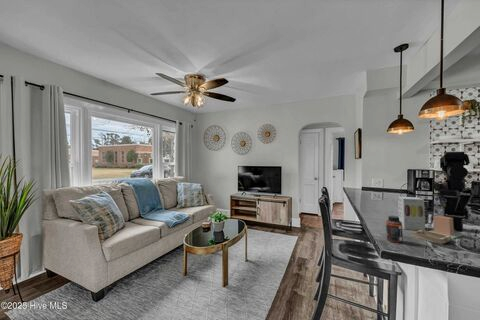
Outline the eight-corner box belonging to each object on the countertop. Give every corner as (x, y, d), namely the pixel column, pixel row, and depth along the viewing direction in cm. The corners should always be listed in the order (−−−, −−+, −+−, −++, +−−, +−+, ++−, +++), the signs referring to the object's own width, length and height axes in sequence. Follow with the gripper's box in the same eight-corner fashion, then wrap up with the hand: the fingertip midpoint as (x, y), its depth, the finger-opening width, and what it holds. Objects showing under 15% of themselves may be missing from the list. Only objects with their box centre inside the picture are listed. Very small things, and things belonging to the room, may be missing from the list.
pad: (435, 230, 108) (435, 229, 108) (462, 235, 99) (462, 234, 99) (426, 233, 104) (426, 231, 104) (453, 239, 95) (452, 237, 95)
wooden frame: (421, 233, 103) (421, 229, 103) (451, 240, 93) (450, 236, 93) (411, 236, 99) (411, 232, 99) (441, 244, 89) (441, 239, 89)
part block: (438, 230, 105) (437, 215, 105) (453, 234, 100) (452, 217, 100) (434, 232, 103) (433, 216, 104) (450, 235, 98) (449, 218, 98)
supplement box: (404, 229, 111) (402, 198, 111) (398, 224, 119) (396, 196, 120) (426, 231, 107) (424, 199, 108) (418, 226, 115) (417, 196, 116)
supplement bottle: (406, 243, 90) (404, 218, 91) (390, 242, 91) (389, 217, 92) (398, 239, 96) (397, 215, 96) (384, 238, 97) (383, 214, 98)
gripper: (444, 176, 109) (445, 205, 108) (424, 177, 102) (426, 208, 101) (474, 177, 99) (476, 209, 98) (455, 178, 91) (457, 213, 91)
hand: (458, 210), depth 97 cm, fingers open, 9 cm apart
